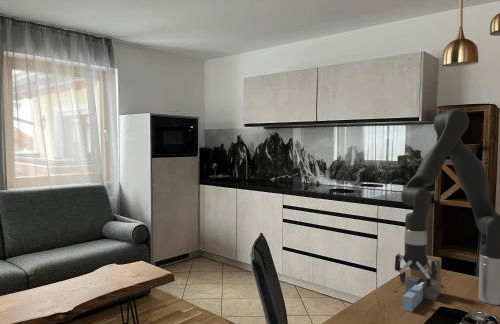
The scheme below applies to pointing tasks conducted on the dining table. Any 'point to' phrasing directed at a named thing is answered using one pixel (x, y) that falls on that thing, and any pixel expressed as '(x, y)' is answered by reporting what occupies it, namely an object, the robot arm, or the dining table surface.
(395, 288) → the dining table surface
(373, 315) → the dining table surface
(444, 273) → the dining table surface
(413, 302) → the blue and white bar
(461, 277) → the dining table surface
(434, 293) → the brown and grey stand
